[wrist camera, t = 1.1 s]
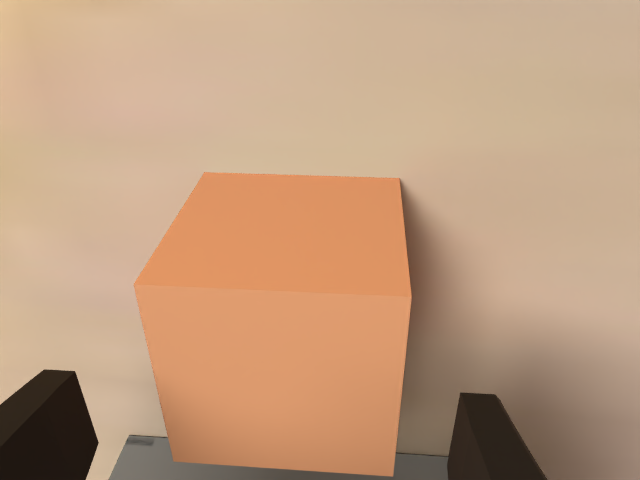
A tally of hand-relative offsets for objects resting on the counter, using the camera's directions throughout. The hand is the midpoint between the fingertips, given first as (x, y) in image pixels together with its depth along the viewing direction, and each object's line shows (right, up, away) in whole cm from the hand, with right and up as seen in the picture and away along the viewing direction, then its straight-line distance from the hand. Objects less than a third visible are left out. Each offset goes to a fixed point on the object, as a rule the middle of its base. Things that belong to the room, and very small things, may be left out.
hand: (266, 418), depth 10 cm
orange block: (+1, +3, +5) cm, 6 cm away
